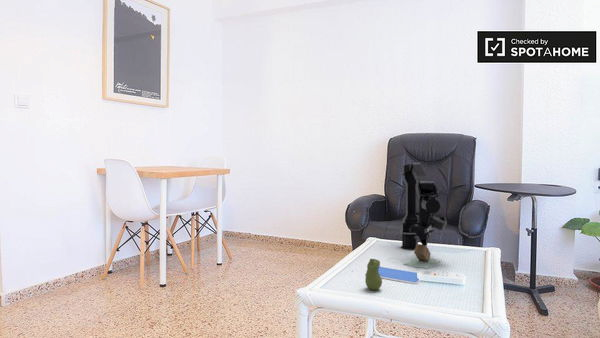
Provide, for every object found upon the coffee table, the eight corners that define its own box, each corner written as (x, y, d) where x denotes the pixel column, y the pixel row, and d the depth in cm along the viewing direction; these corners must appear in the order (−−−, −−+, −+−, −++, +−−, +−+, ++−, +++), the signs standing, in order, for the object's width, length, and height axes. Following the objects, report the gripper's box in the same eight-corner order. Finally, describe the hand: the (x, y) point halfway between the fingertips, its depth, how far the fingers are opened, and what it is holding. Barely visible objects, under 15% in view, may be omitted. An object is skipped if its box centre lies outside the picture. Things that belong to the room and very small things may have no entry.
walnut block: (419, 260, 166) (414, 252, 162) (421, 252, 168) (416, 243, 164) (428, 262, 164) (423, 254, 159) (430, 253, 165) (426, 245, 161)
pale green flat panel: (403, 264, 161) (403, 263, 161) (416, 257, 172) (416, 257, 172) (427, 268, 155) (427, 268, 155) (439, 261, 166) (439, 260, 166)
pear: (368, 285, 134) (368, 256, 134) (383, 288, 132) (384, 258, 131) (363, 290, 129) (363, 260, 129) (379, 293, 127) (380, 262, 126)
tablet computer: (426, 277, 146) (426, 273, 146) (417, 286, 135) (417, 282, 135) (376, 269, 156) (376, 265, 156) (364, 277, 145) (364, 273, 145)
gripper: (436, 214, 153) (436, 254, 153) (452, 209, 167) (451, 246, 168) (409, 211, 159) (408, 250, 160) (426, 207, 174) (425, 242, 175)
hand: (424, 247), depth 165 cm, fingers closed
